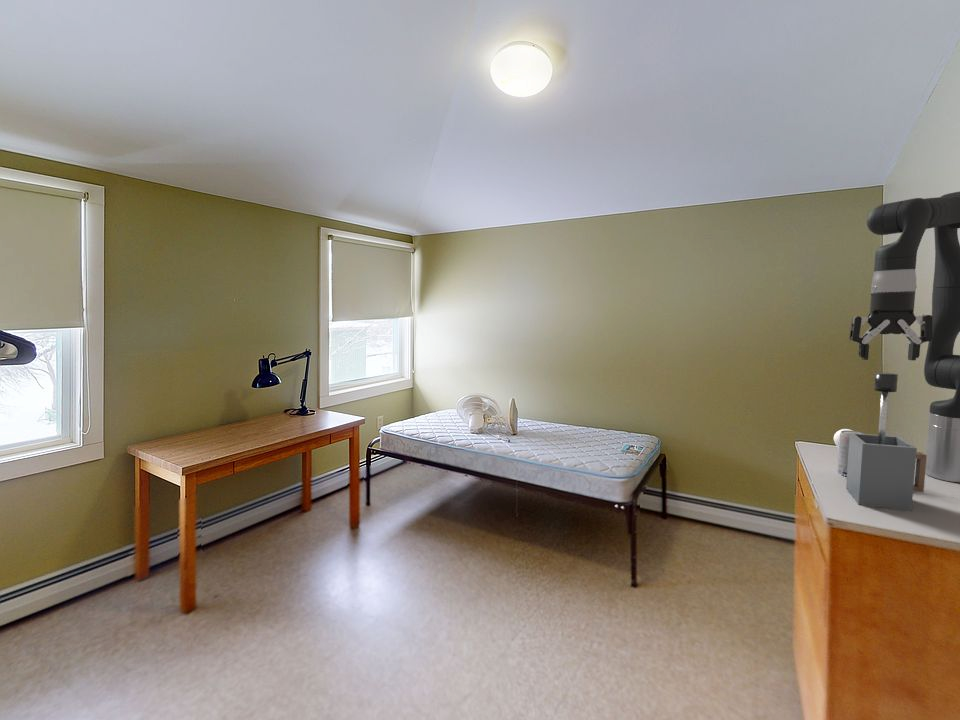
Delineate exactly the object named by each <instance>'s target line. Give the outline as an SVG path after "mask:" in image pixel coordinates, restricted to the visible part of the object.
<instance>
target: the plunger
mask: <svg viewBox="0 0 960 720" xmlns="http://www.w3.org/2000/svg"><path fill="white" fill-rule="evenodd" d="M898 378H899V374H897V373H892V372H875V373H874V381H873V391H875V392H881V396H880V408H879V418H878V419H879V420H878V431H877V433H878V434H877V435H878V444H882V445H884V443H885V436H886V429H887V427H886V425H887V417H888V416H887V414H888V403H889V393H897V391H898Z"/></svg>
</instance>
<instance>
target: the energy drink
mask: <svg viewBox="0 0 960 720" xmlns="http://www.w3.org/2000/svg"><path fill="white" fill-rule="evenodd" d="M850 433H857V434H864V433H863V432H861V431H857V430H856V431H855V430H853V431H841V433H840V439H839V450H838V457H837V459H838V460H837V473H838V474H839V475H840V474H841V476H842V475H845V476H844V477H846V476H847V467H848V452H849V437H850Z"/></svg>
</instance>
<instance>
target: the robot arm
mask: <svg viewBox="0 0 960 720" xmlns="http://www.w3.org/2000/svg"><path fill="white" fill-rule="evenodd" d="M866 226H867V228H868V230H869V231H870V232H871V233H872V234H875V235H877V236H885V235H888V236H889V235H892V234H894V235H895V234H900V236H899V237H898V238H897V240H896V241H893V242H891V243H888V244H885V245H882V246H879V247H878V248H877V249H876V251H875V254H874V266H873V276H872V279H871V286H870V287H871V288H870V289H871V290H870V291H871V292H870V301H869V303H870V305H869V314H868V315H867V316H858V315H855V316H853V317H851V324H850V329H849V330H850V331H849V337H848V340H849V341H852V342H855V343H857V344H858V356H859V358H861V360H863V361H868V360H869V351H870V344H868V343H870V342H871V340H873V339H874V338H875V337H877V336H878V335H879V334H880V335H890V334H891V335H903V337H905V338H906V340H908V341H909V342H910V343H908V348H907V349H908V352H907V360H908V361H916V360H917V359H918V358H919V357H920V355H921V351H920V350H921V345H922V344H924V343H927V342H928V344H927V349H926V356H925V361H924V366H923V367H924V369H923V373H924V374H923V376H924V379H925V381H926V383H927V384H928V385H930V386H931V387H935V388H939V389H948V390H955V392H954V396H953V397H952V398H949V399H944V400H943V399H942V400H935V401H933V402H931V403H930V404H929V405H930V406H929V411H928V412H929V414H928V425H927V426H928V427H927V433H926V434H927V438H926V448H925V454H926V455H927V458H926V470H925V475H927V476H929V477H932V478H934V479H938V480H942V481H946V482H952V483H953V482H954V483H960V354H954V347H955V343H956V339H957V338H958V335H959V333H960V241H959V235H958V234H959V233H958V230H959V229H960V191H956V192H950V193H946V194H943V195H941V196H938V197H926V198H922V197H916V198H909V199H904V200H899V201H894V202H887V203H884V204H880V205H878V206H876V207H874V208H873V209H872V210H871V211H870V212H869V213H868V216H867V218H866ZM929 229H933V230H934V231H933V232H934V254H935V258H934V273H933V280H932V281H933V283H932V293H931V315H930V314H922V315H915V314H914V311H915V301H916V290H917V274H916V273H917V272H916V267H917V257H918V250H919V247H920V244H921V241H922V239H923V236H924V235H925V232H926V230H929ZM866 322H867V324H868V325H870V327H869V328H868V329H867V330H866V331H865V332H864V334H863V335H862V336H861V337H860V333H861V326H864V325H865V323H866ZM915 322H917V323H916V324H918V325H920V326H919V327H920V334H919V335H920V336H918V335H917V334H916V332H915V330H914V329H912V327H911V326H912V325H913V324H914V323H915Z"/></svg>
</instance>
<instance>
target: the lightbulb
mask: <svg viewBox="0 0 960 720" xmlns="http://www.w3.org/2000/svg"><path fill="white" fill-rule="evenodd" d="M841 431H854V430H852V429H849V428H842V429H840V430H837V431H836V432H835V433H834V435H833V442H834V444H835V446H836V447H837V450H838V451H839V439H840V433H841Z"/></svg>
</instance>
